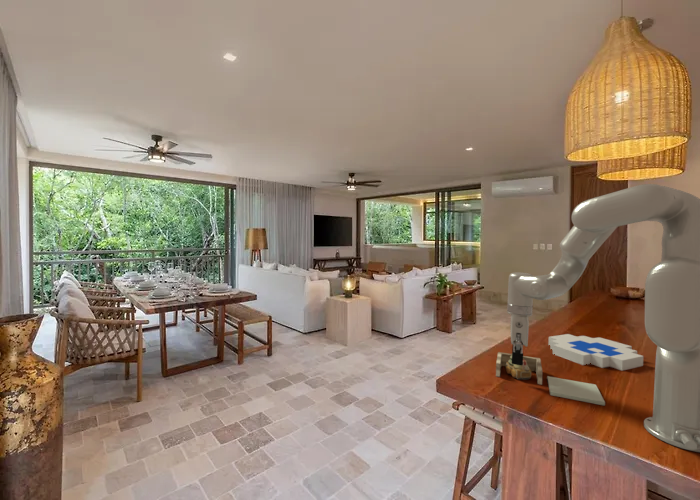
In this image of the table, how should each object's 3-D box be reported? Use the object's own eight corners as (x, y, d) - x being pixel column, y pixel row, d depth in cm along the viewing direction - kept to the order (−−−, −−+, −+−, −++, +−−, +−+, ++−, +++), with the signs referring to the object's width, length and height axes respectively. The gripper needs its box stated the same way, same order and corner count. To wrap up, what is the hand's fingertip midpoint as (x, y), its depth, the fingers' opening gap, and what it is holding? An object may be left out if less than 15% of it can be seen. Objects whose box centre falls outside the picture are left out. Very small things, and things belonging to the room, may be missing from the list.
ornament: (535, 380, 107) (535, 350, 106) (518, 382, 105) (519, 351, 105) (517, 370, 115) (518, 342, 114) (502, 371, 113) (503, 343, 113)
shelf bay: (541, 384, 103) (542, 370, 103) (495, 376, 110) (496, 363, 109) (539, 371, 114) (540, 358, 114) (497, 363, 120) (498, 351, 120)
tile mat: (604, 405, 91) (604, 402, 91) (550, 395, 97) (550, 391, 97) (595, 387, 101) (595, 384, 101) (547, 379, 107) (547, 376, 107)
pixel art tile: (656, 353, 121) (607, 363, 111) (656, 363, 121) (607, 375, 112) (580, 332, 147) (535, 338, 138) (580, 340, 148) (534, 348, 138)
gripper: (533, 317, 100) (530, 371, 101) (531, 305, 115) (529, 352, 116) (506, 313, 103) (503, 366, 104) (507, 303, 118) (505, 348, 120)
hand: (517, 359), depth 110 cm, fingers open, 9 cm apart
